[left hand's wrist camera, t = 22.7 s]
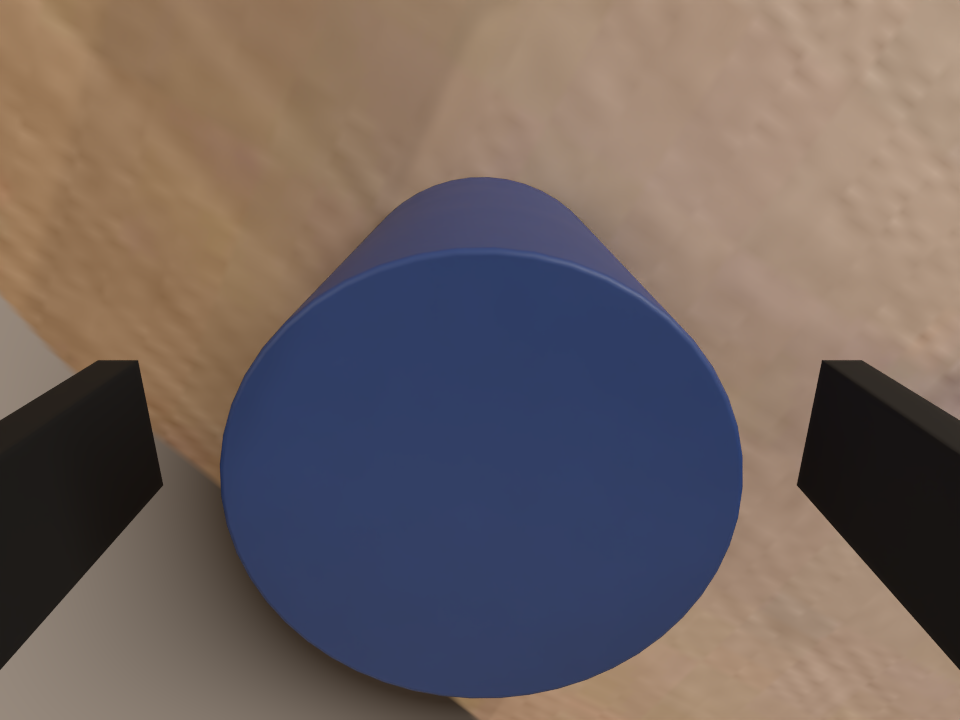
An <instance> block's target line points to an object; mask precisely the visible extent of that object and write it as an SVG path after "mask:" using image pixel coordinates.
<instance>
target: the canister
mask: <svg viewBox="0 0 960 720" xmlns="http://www.w3.org/2000/svg"><path fill="white" fill-rule="evenodd" d="M220 477H221V497H222V502H223V507H224V513H225V518H226V523H227V527H228V529H229V532H230V535H231V538H232V541H233V544H234V546H235V549H236V552H237V554H238V556H239V558H240V560H241V562H242V564H243V566H244V568H245V569H246V571H247V573H248V575H249V577H250V579H251V580H252V582H253V583H254V584H255V586H256V587H257V589H258V590H259V592H260V593H261V594H262V596H263V597H264V599H265V600H266V601H267V603H268V604H269V605H270V606H271V607H272V608H273V609H274V610H275V611H276V612H277V613H278V615H279V616H280V617H281V618H282V619H283V620H284V621H285V622H286V623H287V624H288V625H289V626H290V627H292V628H293V629H294V630H295V631H296V632H297V633H298V634H300V635H301V636H302V637H303V638H304V639H305V640H307V641H308V642H309V643H311V644H312V645H314V646H315V647H317V648H318V649H320V650H321V651H322V652H324V653H325V654H327V655H328V656H330V657H331V658H333V659H335V660H337V661H339V662H341V663H343V664H344V665H346V666H348V667H350V668H352V669H354V670H356V671H358V672H360V673H363V674H365V675H368V676H370V677H373V678H375V679H378V680H380V681H383V682H385V683H389V684H392V685H396V686H399V687H403V688H406V689H409V690H413V691H419V692H424V693H429V694H435V695H440V696H451V697H462V698H503V697H513V696H522V695H530V694H535V693H540V692H544V691H549V690H554V689H559V688H562V687H565V686H568V685H571V684H574V683H577V682H581V681H584V680H587V679H589V678H591V677H594V676H596V675H598V674H601V673H603V672H605V671H607V670H610V669H612V668H614V667H616V666H618V665H619V664H621V663H623V662H625V661H626V660H628V659H630V658H632V657H633V656H635V655H637V654H639V653H640V652H641V651H643V650H644V649H646V648H647V647H648V646H650V645H651V644H652V643H654V642H655V641H657V640H658V639H659V638H661V637H662V636H663V635H664V634H665V633H666V632H667V631H669V630H670V629H671V628H672V627H673V626H674V625H675V624H676V623H677V622H678V621H679V620H680V619H682V618H683V617H684V615H685V614H686V613H687V612H688V611H689V610H690V608H691V607H692V606H693V605H694V604H695V602H696V601H697V600H698V599H699V598H700V597H701V595H702V594H703V592H704V591H705V589H706V588H707V586H708V585H709V583H710V582H711V580H712V578H713V577H714V575H715V574H716V572H717V571H718V568H719V566H720V564H721V562H722V560H723V558H724V556H725V554H726V552H727V549H728V547H729V545H730V542H731V539H732V535H733V532H734V529H735V526H736V522H737V519H738V514H739V507H740V501H741V494H742V451H741V444H740V438H739V432H738V426H737V423H736V420H735V417H734V414H733V410H732V407H731V404H730V401H729V398H728V395H727V394H726V392H725V390H724V388H723V386H722V384H721V382H720V380H719V378H718V376H717V374H716V372H715V370H714V368H713V366H712V365H711V364H710V362H709V361H708V359H707V358H706V357H705V355H704V354H703V352H702V351H701V350H700V348H699V347H698V345H697V344H696V343H695V341H694V340H693V339H692V338H691V337H690V336H689V335H688V334H687V333H686V331H685V330H684V329H683V328H682V327H681V326H680V325H679V324H678V323H677V322H676V321H675V320H674V319H673V318H672V317H671V316H670V315H669V314H668V312H667V311H666V310H665V309H664V308H663V307H662V306H661V305H660V304H659V303H658V302H657V301H656V300H655V299H654V298H653V297H652V296H651V295H650V293H649V292H648V291H647V290H646V289H645V288H644V287H643V286H642V285H641V284H640V283H639V282H638V281H637V280H636V279H635V278H634V277H633V276H632V274H631V273H630V272H629V271H628V270H627V269H626V268H625V267H624V266H623V265H622V264H621V263H620V262H619V261H618V260H617V259H616V258H615V257H614V255H613V254H612V253H611V252H610V251H609V250H608V249H607V248H606V247H605V246H604V245H603V244H602V243H601V242H600V241H599V240H598V239H597V238H596V236H595V235H594V234H593V233H592V232H591V231H590V230H589V229H588V228H587V227H586V226H585V225H584V224H583V223H582V222H581V221H580V220H579V219H578V218H577V217H576V216H575V215H574V213H573V212H572V211H570V210H569V209H568V208H567V207H565V206H564V205H563V204H561V203H560V202H559V201H558V200H556V199H554V198H553V197H551V196H549V195H548V194H546V193H544V192H542V191H540V190H538V189H535V188H533V187H531V186H528V185H526V184H523V183H519V182H515V181H511V180H507V179H499V178H490V177H478V178H465V179H458V180H452V181H448V182H445V183H442V184H438V185H435V186H433V187H430V188H428V189H426V190H424V191H422V192H419V193H417V194H416V195H414V196H413V197H411V198H409V199H408V200H406V201H405V202H403V203H402V204H401V205H399V206H398V207H397V208H396V209H395V210H394V211H392V212H391V213H390V214H389V215H388V216H387V217H386V218H385V219H384V220H383V221H382V222H381V223H380V224H379V225H378V226H377V227H376V228H375V229H374V230H373V231H372V232H371V234H370V235H369V236H368V237H367V238H366V239H365V240H364V241H363V242H362V243H361V244H360V245H359V246H358V247H357V248H356V249H355V250H354V251H353V252H352V253H351V254H350V255H349V256H348V257H347V259H346V260H345V261H344V262H343V263H342V264H341V265H340V266H339V267H338V268H337V269H336V270H335V271H334V272H333V273H332V274H331V275H330V276H329V277H328V278H327V279H326V280H325V281H324V282H323V283H322V285H321V286H320V287H319V288H318V289H317V290H316V291H315V292H314V293H313V294H312V295H311V296H310V297H309V298H308V299H307V300H306V301H305V302H304V303H303V304H302V305H301V306H300V307H299V308H298V309H297V311H296V312H295V313H294V314H293V315H292V316H291V317H290V318H289V319H288V320H287V321H286V322H285V323H284V324H283V325H282V326H281V328H280V329H279V330H278V331H277V332H276V333H275V334H274V335H273V337H272V338H271V339H270V340H269V341H268V342H267V343H266V344H265V346H264V347H263V348H262V349H261V351H260V353H259V354H258V356H257V357H256V359H255V360H254V362H253V363H252V365H251V366H250V368H249V369H248V371H247V373H246V374H245V376H244V378H243V380H242V382H241V385H240V387H239V389H238V391H237V393H236V396H235V398H234V400H233V402H232V405H231V408H230V412H229V415H228V419H227V423H226V426H225V430H224V434H223V442H222V451H221V460H220Z"/></svg>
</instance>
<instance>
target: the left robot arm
mask: <svg viewBox="0 0 960 720" xmlns="http://www.w3.org/2000/svg"><path fill="white" fill-rule="evenodd" d="M162 486H163V482H162V477H161V472H160V467H159V462H158V458H157V452H156V447H155V443H154V438H153V433H152V428H151V423H150V418H149V413H148V408H147V403H146V398H145V393H144V388H143V383H142V378H141V373H140V368H139V363H138V360H98V361H96V362H95V363H93V364H91V365H90V366H88V367H86V368H85V369H83V370H82V371H80V372H78V373H77V374H75V375H73V376H72V377H70V378H69V379H67V380H65V381H64V382H62V383H60V384H59V385H57V386H56V387H54V388H52V389H51V390H49V391H47V392H46V393H44V394H43V395H41V396H39V397H38V398H36V399H34V400H33V401H31V402H29V403H28V404H26V405H25V406H23V407H21V408H20V409H18V410H16V411H15V412H13V413H12V414H10V415H8V416H7V417H5V418H3V419H2V420H0V670H1V668H2V667H3V666H4V665H5V664H6V663H7V662H8V660H9V659H10V658H11V657H12V656H13V655H14V654H15V653H16V651H17V650H18V649H19V648H20V647H21V646H22V645H23V643H24V642H25V641H26V640H27V639H28V638H29V637H30V636H31V634H32V633H33V632H34V631H35V630H36V629H37V628H38V626H39V625H40V624H41V623H42V622H43V621H44V620H45V619H46V617H47V616H48V615H49V614H50V613H51V612H52V611H53V609H54V608H55V607H56V606H57V605H58V604H59V603H60V602H61V600H62V599H63V598H64V597H65V596H66V595H67V594H68V592H69V591H70V590H71V589H72V588H73V587H74V586H75V585H76V583H77V582H78V581H79V580H80V579H81V578H82V577H83V575H84V574H85V573H86V572H87V571H88V570H89V569H90V567H91V566H92V565H93V564H94V563H95V562H96V561H97V560H98V558H99V557H100V556H101V555H102V554H103V553H104V552H105V550H106V549H107V548H108V547H109V546H110V545H111V544H112V543H113V541H114V540H115V539H116V538H117V537H118V536H119V535H120V533H121V532H122V531H123V530H124V529H125V528H126V527H127V526H128V524H129V523H130V522H131V521H132V520H133V519H134V518H135V516H136V515H137V514H138V513H139V512H140V511H141V510H142V509H143V507H144V506H145V505H146V504H147V503H148V502H149V501H150V499H151V498H152V497H153V496H154V495H155V494H156V493H157V492H158V490H159V489H160V488H161V487H162ZM797 486H798V487H799V488H800V489H801V490H802V492H803V493H804V494H805V495H806V496H807V497H808V498H809V499H810V501H811V502H812V503H813V504H814V505H815V506H816V507H817V509H818V510H819V511H820V512H821V513H822V514H823V515H824V516H825V518H826V519H827V520H828V521H829V522H830V523H831V524H832V526H833V527H834V528H835V529H836V530H837V531H838V532H839V534H840V535H841V536H842V537H843V538H844V539H845V540H846V541H847V543H848V544H849V545H850V546H851V547H852V548H853V549H854V551H855V552H856V553H857V554H858V555H859V556H860V557H861V558H862V560H863V561H864V562H865V563H866V564H867V565H868V566H869V568H870V569H871V570H872V571H873V572H874V573H875V574H876V575H877V577H878V578H879V579H880V580H881V581H882V582H883V583H884V585H885V586H886V587H887V588H888V589H889V590H890V591H891V592H892V594H893V595H894V596H895V597H896V598H897V599H898V600H899V602H900V603H901V604H902V605H903V606H904V607H905V608H906V609H907V611H908V612H909V613H910V614H911V615H912V616H913V617H914V619H915V620H916V621H917V622H918V623H919V624H920V625H921V626H922V628H923V629H924V630H925V631H926V632H927V633H928V634H929V636H930V637H931V638H932V639H933V640H934V641H935V642H936V643H937V645H938V646H939V647H940V648H941V649H942V650H943V651H944V653H945V654H946V655H947V656H948V657H949V658H950V659H951V660H952V662H953V663H954V664H955V665H956V666H957V667H958V668H959V670H960V420H958V419H957V418H955V417H953V416H952V415H950V414H948V413H947V412H945V411H944V410H942V409H940V408H939V407H937V406H935V405H934V404H932V403H931V402H929V401H927V400H926V399H924V398H922V397H921V396H919V395H918V394H916V393H914V392H913V391H911V390H909V389H908V388H906V387H904V386H903V385H901V384H900V383H898V382H896V381H895V380H893V379H891V378H890V377H888V376H887V375H885V374H883V373H882V372H880V371H878V370H877V369H875V368H874V367H872V366H870V365H869V364H867V363H865V362H864V361H862V360H822V363H821V368H820V373H819V378H818V383H817V388H816V393H815V398H814V403H813V408H812V413H811V418H810V423H809V428H808V433H807V438H806V442H805V447H804V452H803V457H802V462H801V467H800V472H799V477H798V482H797Z"/></svg>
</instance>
